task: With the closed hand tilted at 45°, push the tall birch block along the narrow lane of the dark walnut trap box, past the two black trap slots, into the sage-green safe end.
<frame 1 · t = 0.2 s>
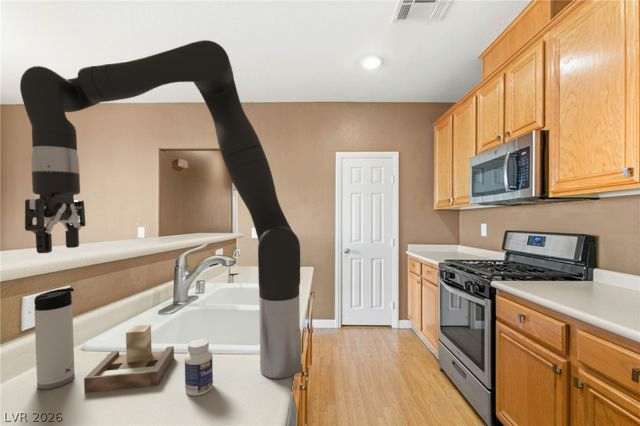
hand: (59, 250, 65), 29 cm above the worktop, tool pointing down, fingers open, 8 cm apart
birch block: (139, 357, 75), point 2 cm above the worktop, touching trap box
pill bottle: (199, 389, 65), on the worktop
travel mug: (57, 382, 69), on the worktop
trap box: (133, 373, 71), on the worktop
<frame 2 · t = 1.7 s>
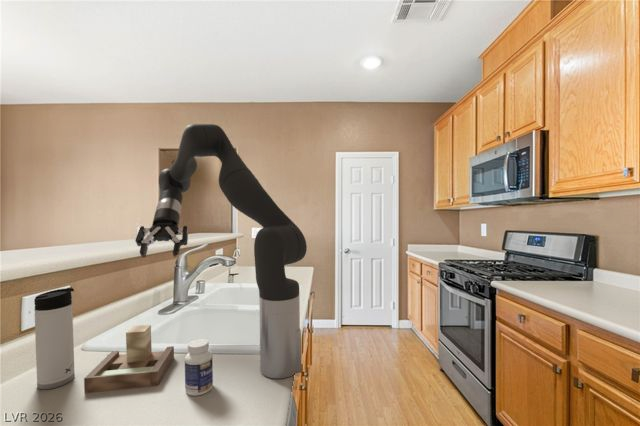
hand: (159, 255, 93), 23 cm above the worktop, tool tilted 45°, fingers open, 8 cm apart
nothing on the worktop moved.
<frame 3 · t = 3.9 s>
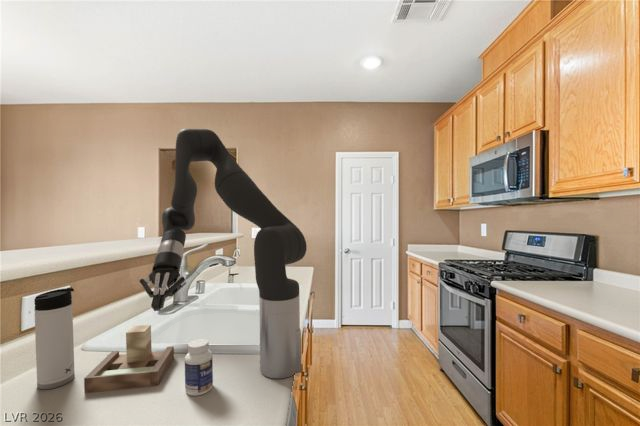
hand: (156, 309, 86), 10 cm above the worktop, tool tilted 45°, fingers closed
nothing on the worktop moved.
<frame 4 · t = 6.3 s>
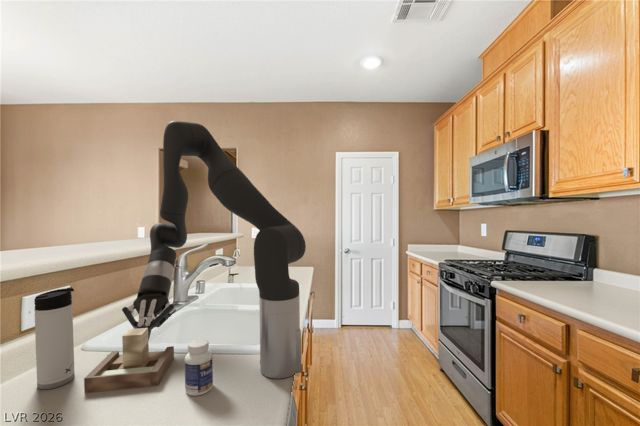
hand: (140, 343, 76), 5 cm above the worktop, tool tilted 45°, fingers closed
birch block: (136, 361, 73), point 2 cm above the worktop, touching trap box
everything else where it was.
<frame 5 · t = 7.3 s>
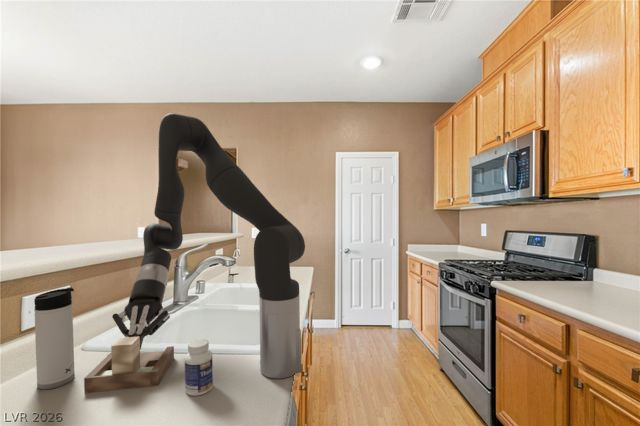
hand: (131, 353, 71), 5 cm above the worktop, tool tilted 45°, fingers closed
birch block: (126, 372, 68), point 2 cm above the worktop, touching trap box
everything else where it was.
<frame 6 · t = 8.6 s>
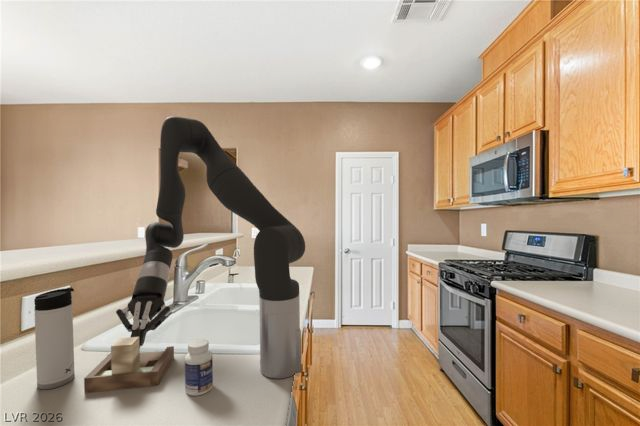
hand: (135, 347, 73), 5 cm above the worktop, tool tilted 45°, fingers closed
nothing on the worktop moved.
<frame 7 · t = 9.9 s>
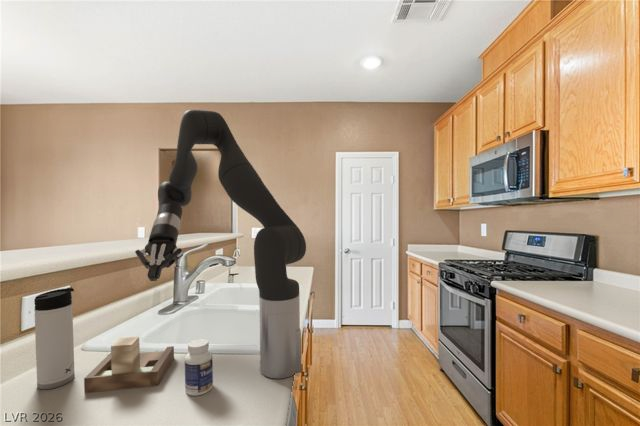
hand: (152, 279, 85), 18 cm above the worktop, tool tilted 45°, fingers closed
nothing on the worktop moved.
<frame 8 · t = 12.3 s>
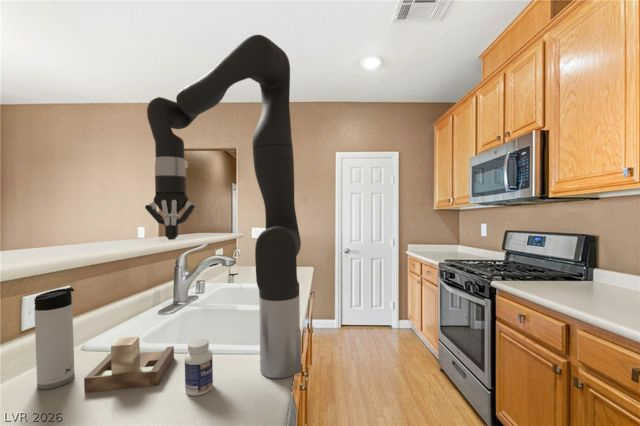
hand: (172, 239, 85), 29 cm above the worktop, tool pointing down, fingers closed
nothing on the worktop moved.
at the end: birch block 0.1 cm from the target spot on the trap box, point 2.0 cm above the trap box's base; birch block tilted 0° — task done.
